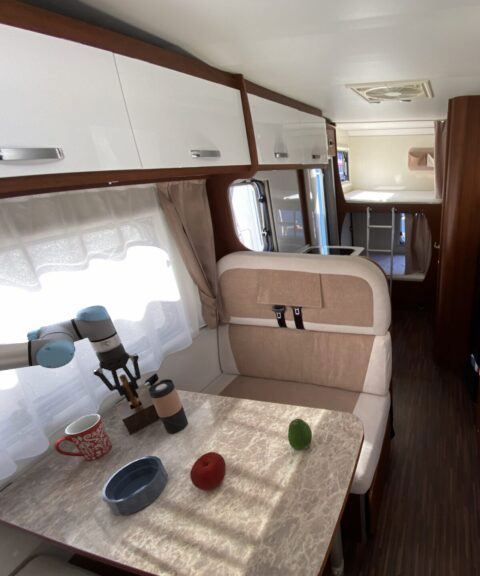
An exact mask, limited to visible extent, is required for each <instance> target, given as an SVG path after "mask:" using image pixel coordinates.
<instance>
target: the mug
mask: <svg viewBox="0 0 480 576" xmlns="http://www.w3.org/2000/svg"><path fill="white" fill-rule="evenodd" d="M101 418H102V417H101V415H100V414H99V413H91V414H87V415H84V416H82V417H80V418H77V419H76V420H74V421H73V422H71V423H70V424H68V426H66V428H65V430H64V433H65V435H66V436H62V437H61V438H59V439H57V440H56V441H55V443H54V449H55V451H56V452H57V453H59V454H61V455H64V456H67V457H68V456H69V457H80V458H81V457H82V458H84V460H86V461H96V460H98V459H100V458H101V457H103V456H105V455H106V454H107V453H108V452H109V451H111V449H112V443H111V441H110V438H109V436H108V434H107V431H106V428H105V426H104V423H103V421H102V419H101ZM65 441H67V442H70V443H73V444H74V446H75V447H76V449H77V450H78V451H75V452H72V451H67V450H62V449H61V448H60V447H59V445H60V444H61V443H62V442H65Z"/></svg>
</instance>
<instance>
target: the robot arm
mask: <svg viewBox="0 0 480 576" xmlns="http://www.w3.org/2000/svg"><path fill="white" fill-rule="evenodd" d="M75 315H76V317H74V318H71V319H68V320H63V321H60V322H56V323H52V324H48V325H43V326H40V327H38V328H34V329H31V330H29V331H28V332H27V333H26V337H27V339H26V340H18V341H7V342H0V372H3V371H8V370H9V371H10V370H16V369H24V368H30V367H37V366H40V367H42V368H45V369H59V368H62V367H65V366H67V365H68V364H69V363H70V362H72V361H73V359H74V358H75V352H76V346H75V343H77V342H79V341H82V340H85V339H88V342H89V344H90V346H91V347H92V349H93V351H94V352H95V356H96V358H97V360H98V362H99V364H98V367H97V368H94V369H93V370H92V374H93V375H94V376H96V377H98V378H99V379H100V380H101V381H102V383H103V384H104V385H105V386H106V387H107V389H108V390H109V391H110V392H113V391H117V393H118V395H119V396H120V397H123V396H124V397H125V399H126V402H130V399H129V397H128V395H127V393H126V391H125V388H124V386H123V385H122V384H121V381H120V379H119V376H118V372H117V371H118V370H120V369H122V370H123V371H124V374H125V375H126V377H127V378H128V380H130V381H129V384H130V386H131V388H132V390H133V392H134V394H135V396H136V398H139V396H140V395H139V394H138V392H137V390H138V389H139V387H140V386H139V385H138V382H137V381H138V380H141V378H142V376H141V371H140V366H139V362H138V361H139V359H140V358H139V357H140V356H139V355H138V354H137V353H133V354H129V352H127V351H126V349H125V346H124V345H123V343H122V340H121V338H120V336H119V334H118V332H117V330H116V327H115V325H114V321H113V320H112V318H111V316H110V314H109V312H108V310H107V308H106V307H105V306H103V305H99V304H98V305H91V306H90V305H89V306H87V307H85V308H81V309H79V310H77V311H76V312H75ZM129 360H130V361H131V362H132V366H133V371H134V376H133V374H132V372H131V371H130V370H129V368H128V366H127V364H128V362H129ZM104 370H106V371H108V372H110V373H111V376H112V379H113V383H114V384H112V382H111V381H110V380H109V379H108V377H107V376H106V375H105V373H104Z"/></svg>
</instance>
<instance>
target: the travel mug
mask: <svg viewBox="0 0 480 576" xmlns="http://www.w3.org/2000/svg"><path fill="white" fill-rule="evenodd" d="M147 392H148V393H149V394H150V396H151V399H152V401H153V403H154V406H155V408H156V411H157V413H158V415H159V417H160V422H161V423H162V425H163V427H164V430H165V432H166V433H167V434H169V435H175V434H178V433H180V432H181V431H183V430H185V429H186V427H187V426H188V424H189V421H188V418H187V414H186V411H185V408H184V406H183V403H182V401H181V398H180V395H179V394H178V391H177V388H176V387H175V383H174V381H173V380H172V379H168V378H166V379H162V380H160V381H159V382H156V383H155V384H152V385H150V386H149V388H148V390H147Z"/></svg>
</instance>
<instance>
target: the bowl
mask: <svg viewBox="0 0 480 576" xmlns="http://www.w3.org/2000/svg"><path fill="white" fill-rule="evenodd" d="M168 479H169V473H168V472H167V470H166V468H165V466H164V464H163V461H162V460H161V458H160V457H158V456H155V455H146V456H142V457H139V458H137V459H136V458H135V459H134V460H131V461H130V462H127V464H124V465H123V466H122V467H121V468H119V469H118V470H117V471H115V472H114V473H113V474H112V475H111V476H110V477H109V478H108V479H107V480H106V482H105V484H104V485H103V487H102V491H101V498H102V500H103V502H104V504H105V505H106V507H107V508H108V511H109V512H110V513H112V514H113V515H115V516H127V515H130V514H131V515H132V514H133V513H136V512H137V511H140V510H142V509H144V508H145V507H146V506H148V505H149V504H151V503H152V502H153V501H154V500H155V499H157V498H158V496H159V495H160V494H161V492H162V491H163V490H164V489H165V487H166V485H167V483H168Z"/></svg>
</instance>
